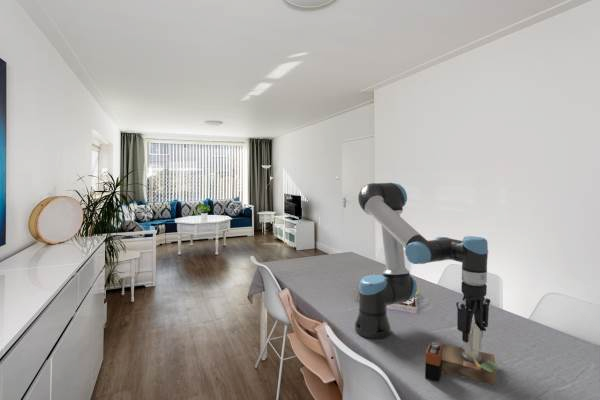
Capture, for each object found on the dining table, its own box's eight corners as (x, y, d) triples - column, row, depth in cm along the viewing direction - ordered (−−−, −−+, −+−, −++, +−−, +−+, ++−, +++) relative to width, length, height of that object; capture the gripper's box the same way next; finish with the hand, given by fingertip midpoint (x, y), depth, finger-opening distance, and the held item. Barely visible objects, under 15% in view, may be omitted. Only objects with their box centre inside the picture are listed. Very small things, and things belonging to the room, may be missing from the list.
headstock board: (428, 368, 110) (429, 357, 110) (432, 351, 122) (433, 340, 121) (501, 387, 100) (502, 374, 100) (498, 366, 112) (499, 355, 111)
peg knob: (469, 368, 104) (470, 333, 103) (459, 351, 114) (460, 319, 113) (489, 370, 103) (490, 334, 102) (477, 353, 113) (478, 320, 112)
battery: (441, 372, 108) (442, 344, 108) (439, 383, 103) (439, 353, 102) (428, 368, 111) (428, 340, 110) (424, 379, 105) (425, 349, 104)
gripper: (464, 289, 102) (462, 360, 103) (502, 282, 108) (500, 349, 109) (446, 282, 109) (444, 348, 110) (482, 276, 115) (480, 339, 116)
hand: (472, 348), depth 110 cm, fingers closed on peg knob, 4 cm apart
